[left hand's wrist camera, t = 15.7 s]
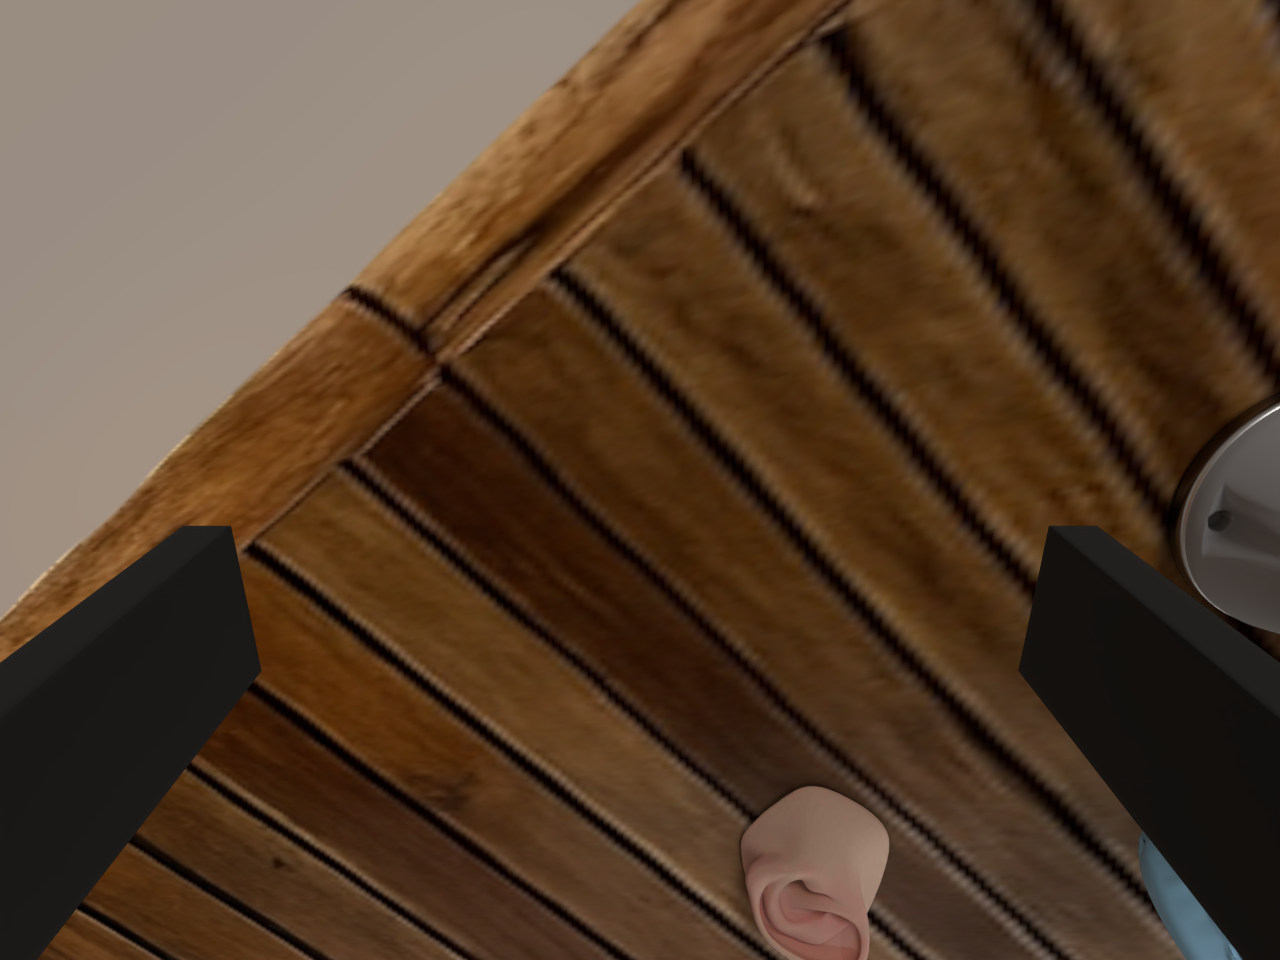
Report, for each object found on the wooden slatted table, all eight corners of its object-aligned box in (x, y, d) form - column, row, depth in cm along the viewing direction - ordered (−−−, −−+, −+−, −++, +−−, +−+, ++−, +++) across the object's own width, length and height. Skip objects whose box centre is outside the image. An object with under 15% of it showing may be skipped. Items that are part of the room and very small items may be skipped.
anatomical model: (782, 817, 49) (944, 858, 51) (772, 772, 53) (923, 812, 54) (712, 956, 54) (862, 991, 55) (707, 906, 58) (848, 940, 59)
